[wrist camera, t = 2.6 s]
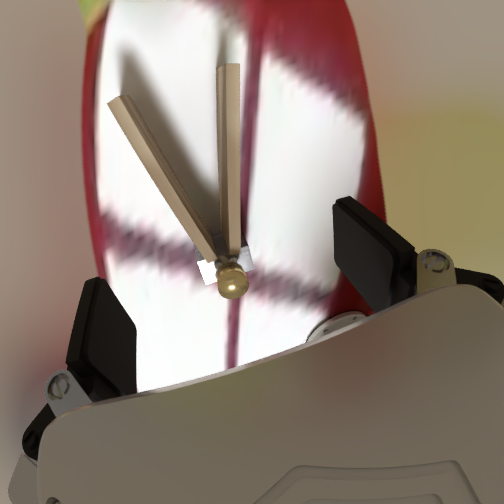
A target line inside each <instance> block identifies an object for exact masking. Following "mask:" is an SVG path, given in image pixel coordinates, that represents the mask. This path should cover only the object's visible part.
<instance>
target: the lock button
mask: <svg viewBox="0 0 504 504" xmlns="http://www.w3.org/2000/svg"><path fill="white" fill-rule="evenodd" d="M215 279H216V283H217V286H218V290H219V293H220V295H221V296H223V297H224V298H227V299H236V298H239V297H241V296H242V295H244V294H245V293H246V292H247V290H248V287H249V282H248V280H247V277H246V275H245V272H244V270H243V268H242V266H241V265H240V264H238V263H235V262H227V263H224V264H222V265H221V266H219V267H218V269H217V270H216V272H215Z"/></svg>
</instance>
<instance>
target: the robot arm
mask: <svg viewBox="0 0 504 504" xmlns="http://www.w3.org/2000/svg"><path fill="white" fill-rule="evenodd" d="M332 209H333V230H334V259H335V262H336V265H337V266H338V267H339V269H340V270H341V271H342V272H343V273H344V275H345V276H346V277H347V278H348V280H349V281H350V282H351V283H352V285H353V286H354V287H355V288H356V290H357V291H358V292H359V293H360V295H361V296H362V297H363V298H364V300H365V301H366V302H367V304H368V305H369V306H370V307H371V309H372V310H373V311H374V313H375V314H373V315H371V316H369V317H366V316H365V315H364V314H363V313H361V312H358V311H351V312H345V313H342V314H339V315H337V316H334V317H333V318H331V319H329V320H327V321H326V322H324V323H323V324H322V325H320V326H319V327H318V328H317V329H316V330H315V331H314V332H313V333H312V335H311V336H310V337H309V339H308V341H307V343H304V344H301V345H299V346H296V347H293V348H291V349H288V350H285V351H283V352H280V353H277V354H274V355H271V356H268V357H265V358H263V359H260V360H257V361H254V362H251V363H247V364H244V365H241V366H238V367H235V368H232V369H228V370H225V371H222V372H218V373H215V374H211V375H208V376H204V377H201V378H197V379H194V380H190V381H186V382H182V383H178V384H174V385H170V386H166V387H162V388H158V389H153V390H149V391H144V392H140V393H137V384H136V337H137V330H136V326H135V324H134V322H133V321H132V320H131V318H130V317H129V315H128V314H127V312H126V311H125V309H124V308H123V306H122V305H121V303H120V302H119V300H118V299H117V297H116V296H115V294H114V293H113V291H112V289H111V288H110V286H109V285H108V283H107V282H106V280H105V279H101V278H100V277H95V278H92V279H89V280H87V281H86V282H85V284H84V287H83V291H82V294H81V298H80V301H79V305H78V309H77V313H76V316H75V320H74V325H73V329H72V334H71V338H70V342H69V347H68V352H67V357H66V364H67V365H68V367H67V370H59V371H57V372H55V373H54V374H53V375H52V376H51V377H50V378H49V379H48V381H47V383H46V386H45V397H46V400H47V402H48V403H47V404H46V406H45V407H44V408H43V409H42V410H41V412H40V413H39V414H38V415H37V416H36V418H35V419H34V420H33V421H32V423H31V424H30V425H29V426H28V428H27V429H26V431H25V432H24V435H23V439H22V446H23V450H24V452H25V455H24V454H22V453H21V455H20V458H19V460H18V463H17V465H16V468H15V470H14V473H13V476H12V478H11V481H10V484H9V489H8V493H9V498H10V500H11V502H12V503H13V504H504V285H503V283H502V282H501V281H500V280H499V279H498V278H496V277H495V276H493V275H490V274H485V273H480V272H475V271H470V270H465V269H460V268H455V267H454V263H453V261H452V259H451V258H450V256H449V255H447V254H446V253H444V252H442V251H440V250H436V249H426V250H423V251H421V252H420V253H419V254H417V253H416V252H415V247H413V246H412V245H411V244H410V243H409V242H408V241H406V240H405V239H404V238H403V237H401V235H399V234H398V233H397V232H396V231H395V230H393V229H392V228H391V227H390V226H388V225H387V224H386V223H385V222H383V221H382V220H381V219H380V218H378V217H377V216H376V215H375V214H373V213H372V212H371V211H369V210H368V209H367V208H365V207H364V206H363V205H362V204H360V203H359V202H358V201H356V200H355V199H354V198H352V197H351V196H347V197H344V198H340V199H337V200H336V202H335V204H333V207H332Z"/></svg>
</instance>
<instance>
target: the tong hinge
mask: <svg viewBox="0 0 504 504" xmlns="http://www.w3.org/2000/svg"><path fill="white" fill-rule="evenodd" d="M211 237H212V241H213V244H214V248H215V251H216V255H217V258H218V259H217V260H215V261H213V262H211V263H209V264H208V263H207V262H206V260H205V259H204V257H203V256H202V254H201V253H200V251H199V250H198V249H197V247H196V246H195V244H194V246H195V252H196V258H197V263H198V265H199V268H200V270H201V273H202V275H203V278H204V280H205V283H206V285H207V284H210V283H213V282H216V279H215V272H216V270H217V269H218V267H219V266H221V265H222V264H224V263H227V262H235V263H238V264H240V265H241V266H242V268H243V270H244V272H247V271H250V270H253V269H254V266H253V262H252V258H251V254H250V250H249V246H248V244H247V242H246V239H245V237H244V235H243V233H242V231H241V254H234V255H230V253H229V250H228V248H227V245H226V242H225V239H224V236H223V234H222V232H221V233H218V234H215V235H212V236H211Z"/></svg>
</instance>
